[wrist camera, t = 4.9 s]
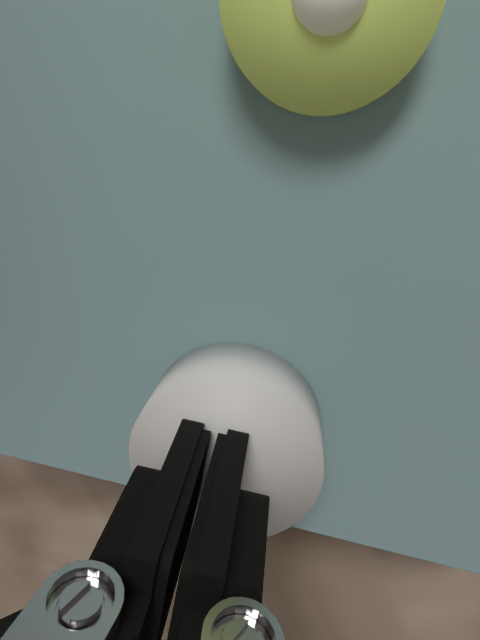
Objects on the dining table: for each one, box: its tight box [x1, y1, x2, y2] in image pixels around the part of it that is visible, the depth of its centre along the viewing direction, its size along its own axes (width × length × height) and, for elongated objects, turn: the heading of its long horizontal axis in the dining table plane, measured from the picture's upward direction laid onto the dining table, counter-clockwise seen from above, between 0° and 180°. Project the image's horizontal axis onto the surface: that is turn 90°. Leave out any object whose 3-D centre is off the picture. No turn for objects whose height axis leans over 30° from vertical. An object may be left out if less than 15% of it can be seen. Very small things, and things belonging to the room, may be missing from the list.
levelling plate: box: [0, 0, 480, 574], centre depth 10 cm, size 20×18×4 cm
